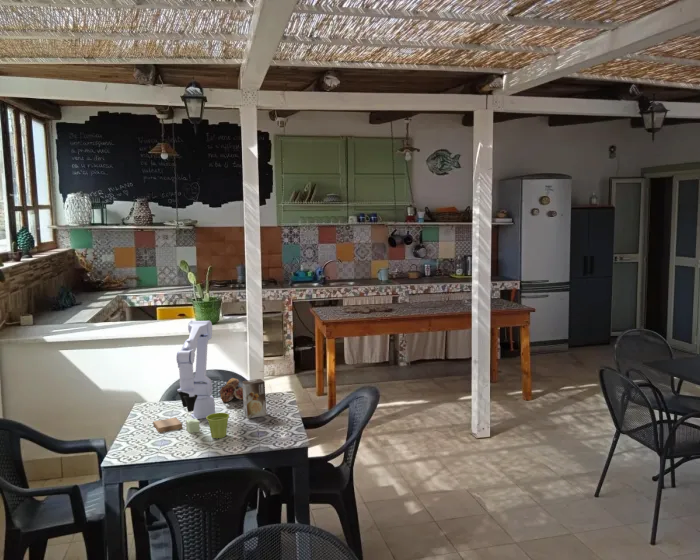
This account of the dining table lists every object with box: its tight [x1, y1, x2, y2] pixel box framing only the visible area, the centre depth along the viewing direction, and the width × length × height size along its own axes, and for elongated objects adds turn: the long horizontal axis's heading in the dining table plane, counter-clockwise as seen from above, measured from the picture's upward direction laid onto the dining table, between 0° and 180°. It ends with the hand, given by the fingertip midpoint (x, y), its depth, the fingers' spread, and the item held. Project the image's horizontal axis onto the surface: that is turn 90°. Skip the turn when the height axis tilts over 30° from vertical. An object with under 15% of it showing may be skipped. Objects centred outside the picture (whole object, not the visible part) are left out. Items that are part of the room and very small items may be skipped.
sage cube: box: [185, 418, 200, 434], centre depth 263 cm, size 4×4×4 cm
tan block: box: [152, 417, 183, 433], centre depth 268 cm, size 10×10×2 cm
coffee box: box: [241, 378, 267, 419], centre depth 281 cm, size 9×6×16 cm
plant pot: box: [205, 412, 230, 439], centre depth 255 cm, size 9×9×9 cm
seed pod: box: [218, 377, 243, 403], centre depth 305 cm, size 13×16×15 cm
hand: (188, 409), depth 262 cm, fingers open, 7 cm apart
